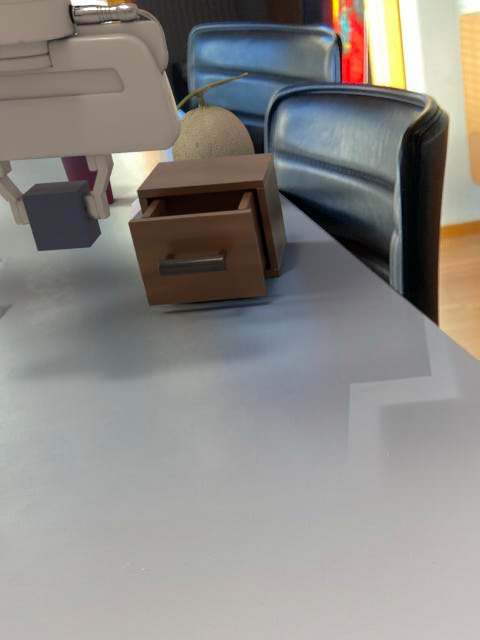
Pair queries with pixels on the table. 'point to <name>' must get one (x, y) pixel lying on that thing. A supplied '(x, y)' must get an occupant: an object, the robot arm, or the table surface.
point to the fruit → (210, 130)
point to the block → (60, 216)
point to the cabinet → (226, 177)
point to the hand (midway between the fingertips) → (63, 220)
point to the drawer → (201, 247)
